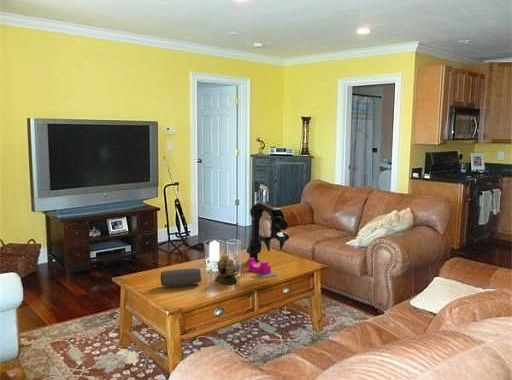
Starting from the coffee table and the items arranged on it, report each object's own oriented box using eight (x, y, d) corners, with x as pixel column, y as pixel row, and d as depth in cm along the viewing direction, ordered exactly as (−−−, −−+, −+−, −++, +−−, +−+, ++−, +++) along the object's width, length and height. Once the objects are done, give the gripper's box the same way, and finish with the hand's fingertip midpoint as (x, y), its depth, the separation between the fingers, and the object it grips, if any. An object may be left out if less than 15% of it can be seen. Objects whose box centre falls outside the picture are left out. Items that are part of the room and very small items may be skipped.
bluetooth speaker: (197, 281, 275) (197, 265, 274) (201, 286, 267) (201, 269, 265) (160, 285, 267) (160, 268, 266) (162, 290, 259) (162, 273, 258)
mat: (251, 276, 287) (251, 275, 287) (272, 272, 295) (272, 272, 295) (256, 279, 281) (256, 278, 281) (277, 275, 289) (277, 275, 289)
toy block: (270, 272, 294) (270, 261, 293) (263, 274, 290) (263, 263, 289) (255, 267, 305) (255, 256, 304) (248, 269, 301) (248, 258, 300)
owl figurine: (242, 283, 273) (242, 256, 271) (226, 287, 266) (226, 259, 264) (227, 275, 287) (227, 249, 285) (211, 278, 281) (211, 252, 278)
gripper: (269, 230, 281) (269, 255, 283) (294, 228, 290) (293, 251, 292) (260, 227, 290) (260, 251, 292) (284, 225, 300) (284, 247, 301)
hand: (274, 250), depth 294 cm, fingers open, 9 cm apart
